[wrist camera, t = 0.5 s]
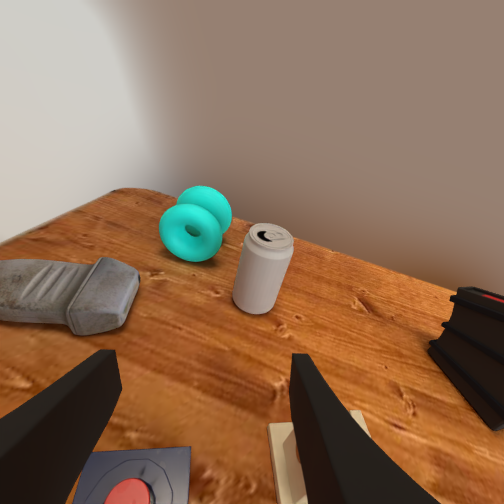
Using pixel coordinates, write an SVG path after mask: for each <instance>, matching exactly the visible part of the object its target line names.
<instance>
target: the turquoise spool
mask: <svg viewBox="0 0 504 504" xmlns="http://www.w3.org/2000/svg"><path fill="white" fill-rule="evenodd" d="M231 220H232V212H231V208H230V205H229V203H228V201H227V200H226V198H225V197H224V196H223V195H222V194H221V193H219V192H218V191H216V190H215V189H213V188H210V187H206V186H194V187H191V188H189V189H187V190H185V191H184V192H183V193H182V194H181V195H180V197H179V198H178V200H177V204H176V205H175V206H173V207H171V208H169V209H168V210H167V211H166V212H165V213H164V214H163V216H162V217H161V220H160V223H159V233H160V237H161V240H162V242H163V244H164V245H165V246H166V248H167V249H168V250H169V251H170V252H171V253H173V254H174V255H176V256H177V257H179V258H181V259H184V260H187V261H192V262H199V261H204V260H207V259H209V258H211V257H213V256H214V255H215V254H216V253H217V252H218V250H219V249H220V247H221V244H222V234H223V233H225V232H226V231H227V229H228V228H229V226H230V223H231ZM188 232H189V233H190V234H192V235H193V236H191V235H190V234H189V233H188ZM194 236H196V237H194Z"/></svg>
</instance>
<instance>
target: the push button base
mask: <svg viewBox="0 0 504 504" xmlns="http://www.w3.org/2000/svg"><path fill="white" fill-rule="evenodd" d="M190 459H191V446H189V447H172V448H154V449H137V450H120V451H102V452H91V454H90V456H89V458H88V460H87V462H86V463H85V465H84V467H83V469H82V473H81V476H80V479H79V483H78V486H77V489H76V493H75V496H74V499H73V503H72V504H104V502H105V500H106V498H107V496H108V494H109V493H110V491H111V490H112V489H113V488H114V487H115V486H116V485H117V484H118V483H120V482H121V481H123V480H125V479H128V478H137V479H140V480H142V481H143V482H144V483H145V484H146V486H147V487H148V490H149V494H150V504H188V497H189V478H190Z"/></svg>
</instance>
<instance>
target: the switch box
mask: <svg viewBox="0 0 504 504" xmlns="http://www.w3.org/2000/svg"><path fill="white" fill-rule="evenodd" d="M349 413H350V414H351V416H352V417H353V418H354V419H355V421H356V422H357V423H358V424H359V425H360V426H361V428H362V429H363V430H364V431H365V432H366V433H367V434H368V435H369V436H370V434H369V431H368V429H367V426H366V424H365V421H364V419H363V416H362V414H361V411H360V410H350V411H349ZM267 430H268V437H269V445H270V452H271V459H272V466H273V474H274V481H275V488H276V495H277V503H278V504H308V501H307V494H306V488H305V483H304V478H303V473H302V468H301V463H300V458H299V453H298V448H297V443H296V438H295V433H294V428H293V423H292V422H286V423H269V425H268V427H267ZM370 438H371V436H370Z"/></svg>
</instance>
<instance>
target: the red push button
mask: <svg viewBox="0 0 504 504" xmlns="http://www.w3.org/2000/svg"><path fill="white" fill-rule="evenodd" d="M104 504H150V494H149V490H148V487H147V486H146V484H145V483H144V482H143V481H142V480H140V479H137V478H128V479H125V480H123V481H121V482H120V483H118V484H117V485H116V486H115V487H114V488H113V489H112V490H111V491H110V493H109V494H108V496H107V498H106V500H105V502H104Z"/></svg>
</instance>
